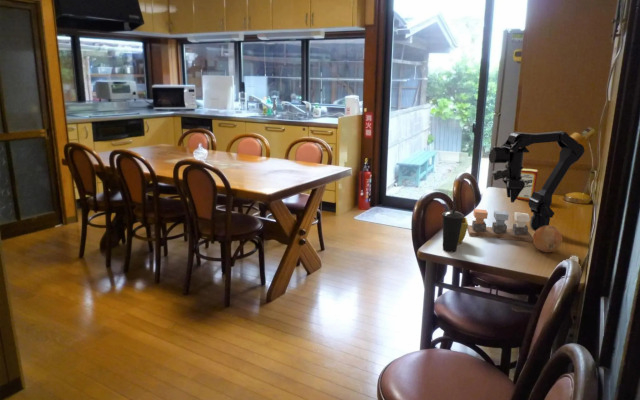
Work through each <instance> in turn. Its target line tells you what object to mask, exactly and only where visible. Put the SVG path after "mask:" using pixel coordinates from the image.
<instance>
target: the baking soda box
mask: <svg viewBox="0 0 640 400" xmlns="http://www.w3.org/2000/svg"><path fill="white" fill-rule="evenodd" d="M538 172H539V170H538V169H533V168H524V167H523V169H522V171H521V176H522V180H523V182H524V183H525V188H523V189H522V191H521V192H520V194H519V195H518V197H517V198H516V200H522V201H523V200H525V201H529V198H530V197H531V196H532V193H533V192H534V191H535V192H536V186H537V185H536V184H537V178H538V174H539V173H538Z"/></svg>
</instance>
